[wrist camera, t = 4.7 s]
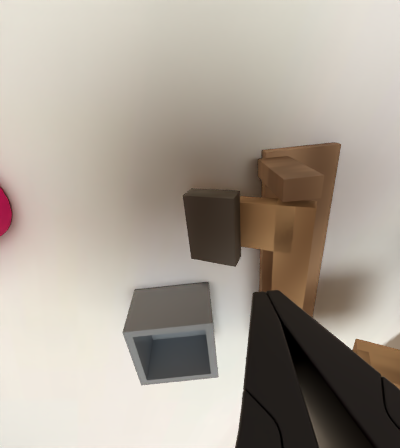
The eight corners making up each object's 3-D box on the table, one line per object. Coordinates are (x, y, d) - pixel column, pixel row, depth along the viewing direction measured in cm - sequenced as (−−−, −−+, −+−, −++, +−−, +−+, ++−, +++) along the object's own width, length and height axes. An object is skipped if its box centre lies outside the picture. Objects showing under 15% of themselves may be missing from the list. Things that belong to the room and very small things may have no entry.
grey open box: (208, 282, 22) (213, 323, 18) (213, 332, 25) (218, 377, 21) (134, 289, 22) (122, 332, 18) (148, 339, 25) (141, 385, 21)
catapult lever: (608, 201, 9) (695, 235, 7) (444, 424, 16) (462, 474, 14) (198, 183, 15) (179, 197, 13) (215, 347, 23) (204, 373, 21)
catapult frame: (334, 142, 16) (398, 159, 11) (306, 323, 25) (336, 379, 20) (255, 150, 17) (284, 171, 12) (253, 329, 25) (270, 386, 20)
